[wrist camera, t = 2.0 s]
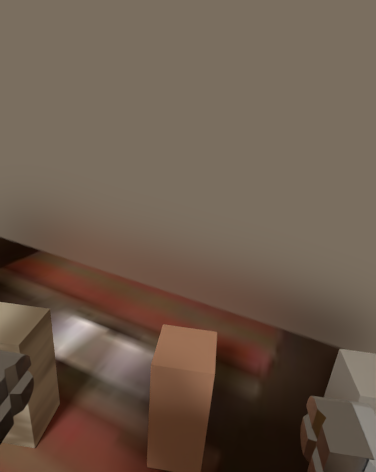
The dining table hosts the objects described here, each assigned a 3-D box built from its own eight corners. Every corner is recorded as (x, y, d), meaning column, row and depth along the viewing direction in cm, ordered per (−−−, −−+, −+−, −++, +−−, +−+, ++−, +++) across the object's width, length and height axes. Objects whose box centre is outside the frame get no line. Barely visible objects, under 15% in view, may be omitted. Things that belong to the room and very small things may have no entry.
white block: (320, 496, 26) (360, 395, 21) (308, 443, 30) (339, 348, 25) (378, 507, 25) (430, 405, 21) (358, 451, 29) (398, 356, 25)
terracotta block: (146, 467, 27) (151, 364, 22) (157, 419, 31) (163, 324, 26) (200, 476, 26) (214, 374, 22) (203, 426, 30) (217, 332, 26)
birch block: (-15, 439, 28) (-40, 336, 24) (16, 396, 32) (-1, 301, 28) (35, 448, 27) (18, 345, 23) (60, 403, 32) (49, 309, 27)
